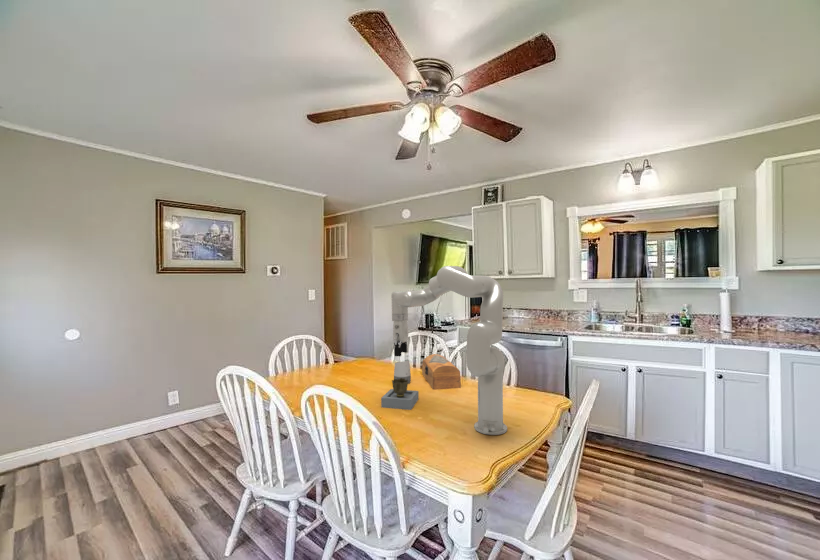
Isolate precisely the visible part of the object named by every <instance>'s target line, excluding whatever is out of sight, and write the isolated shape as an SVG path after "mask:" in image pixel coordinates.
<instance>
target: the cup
mask: <svg viewBox="0 0 820 560" xmlns="http://www.w3.org/2000/svg"><path fill="white" fill-rule="evenodd" d="M391 383H392V389H393V390H394V392H395V393H396V394H397V395H396V396H397V397H398V398H402V397H404V393H406V391H407V390H408V385H409V384H408V379H407V380H405V378H404V379H403V378H400V379H399V378H398V379H394V378H393V379H392V380H391Z"/></svg>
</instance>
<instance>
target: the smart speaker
mask: <svg viewBox="0 0 820 560" xmlns="http://www.w3.org/2000/svg"><path fill="white" fill-rule="evenodd" d="M393 368H394V370H393V380H394V379H398V378H399V379H400V378H403V379H404V378H405V380H407V379H408V385H409V384H410V383H411V380H412V375H411V365H410V360H403V361H399V362H394V367H393Z"/></svg>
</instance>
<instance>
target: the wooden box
mask: <svg viewBox="0 0 820 560" xmlns="http://www.w3.org/2000/svg"><path fill="white" fill-rule="evenodd" d="M421 365H422V367H421V369H422V372H421V373H422V374H421V375H422V376H423V378H424V380H426V382H427V383H428V384H429V386H430V387H431V389H432V390H447V389H450V390H452V389H461V388H462V387H461V386H462V385H461V382H462V381H461V380H462V379H461V378H462V377H461V370H460V369H459V368H458V367H457V366H455V364H453V362H451V361H450V360H448V359H447V358H446V357H445V356H443V355H441V354H437V353H433V354H430V355H428V356H426V357H425V358H424V359H422V364H421Z"/></svg>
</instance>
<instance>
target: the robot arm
mask: <svg viewBox="0 0 820 560" xmlns="http://www.w3.org/2000/svg"><path fill="white" fill-rule="evenodd" d="M448 292H453V293H455V294H458V295H460V296H463V297H465V298H472V299H473V298H482V302H481V304H480V311H479V314H480V316H479V321H476V322H474V323H473V324H471V326H470V327H469V329H468V332H467V334H466V354H465V355H466V360H465V361H466V367H467V370H468V371H469V373H470V374H471V375H473V377H477V421H476V422H475V423H474V426H473V428H474V430H475V431H477V432H478V433H480V434H484V435H490V436H499V435H500V436H501V435H502V434H505V433H506V432H507V431H508V425H506V424H505V423H504V399H503V398H504V391H503V390H504V380H503V379H504V371H505V356H504V354H503V352H502V351H501V350H500V349H499V348H497V347H493V346H492V345H495V344H497V343H499V342H500V341H501V339H502V338H503V337H502V336H503V315H504V314H503V312H504V311H503V309H504V308H503V307H504V292H503V288H502V286H501V284H500V283H499V282H498V281H497V280H496V279H494V278H493V277H491V276H488V275H482V274H481V275H477V274H476V275H471V274H468V273H467V271H466V269H465V268H463V267H461V266H457V265H445V266H442V267H441V268H439V270H437V273H436V275H435V276H433V277H432V278H430V279H429V280H428V286H426V287H424V288H422V289H418V290H416V289H415V290H405V291H403V290H402V291H401V290H400V291H399V290H397V291H396V290H395V291H392V293H391V298H390V299H391V322H393V328H392V329H393V330H392V331H393V333H392V335H393V336H392V338H393V340H392V341H393V353H394V354H393V355H394V357H402V353H408V348H407V347H408V343H407V342H408V341H409V325H408V321H409V313H408V312H409V309H408V308H414V307H415V308H416V307H424V306H426V305H429V304H431V303H433V302H434V301H437V300H438V299H439V298H440V297H441V296H443V295H445V294H447V293H448Z"/></svg>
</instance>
